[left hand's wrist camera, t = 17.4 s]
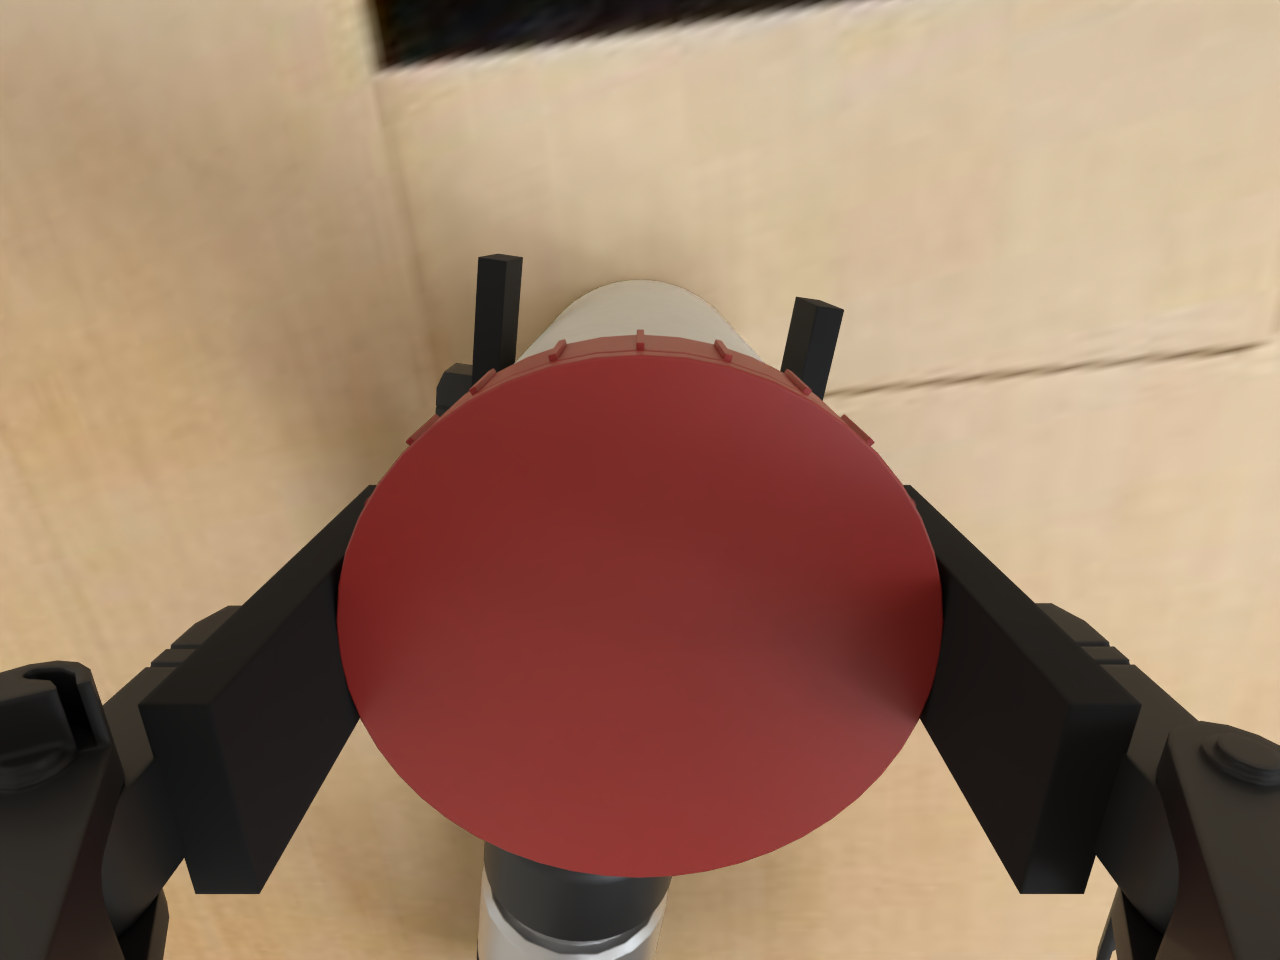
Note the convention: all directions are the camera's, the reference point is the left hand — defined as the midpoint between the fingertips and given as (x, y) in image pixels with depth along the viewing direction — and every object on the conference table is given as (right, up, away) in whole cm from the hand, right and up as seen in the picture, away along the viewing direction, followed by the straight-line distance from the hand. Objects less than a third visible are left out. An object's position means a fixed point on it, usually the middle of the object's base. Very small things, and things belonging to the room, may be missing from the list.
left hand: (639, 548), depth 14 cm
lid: (0, -1, -3) cm, 3 cm away
